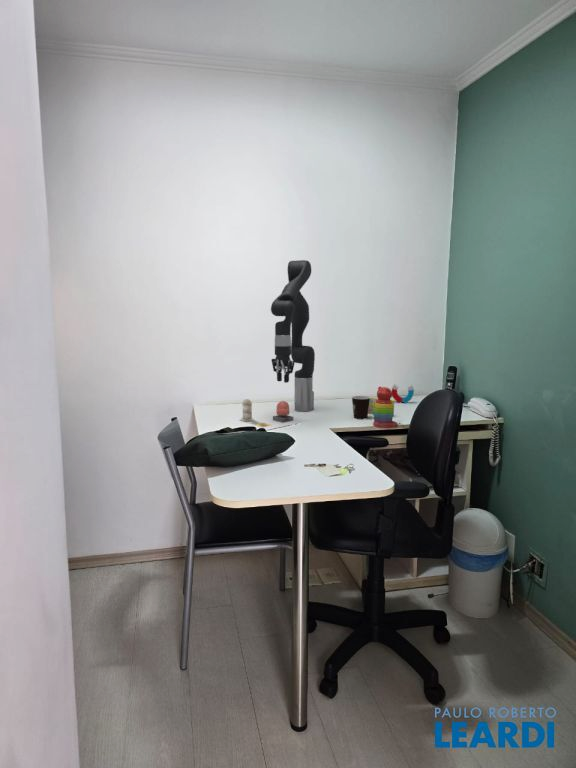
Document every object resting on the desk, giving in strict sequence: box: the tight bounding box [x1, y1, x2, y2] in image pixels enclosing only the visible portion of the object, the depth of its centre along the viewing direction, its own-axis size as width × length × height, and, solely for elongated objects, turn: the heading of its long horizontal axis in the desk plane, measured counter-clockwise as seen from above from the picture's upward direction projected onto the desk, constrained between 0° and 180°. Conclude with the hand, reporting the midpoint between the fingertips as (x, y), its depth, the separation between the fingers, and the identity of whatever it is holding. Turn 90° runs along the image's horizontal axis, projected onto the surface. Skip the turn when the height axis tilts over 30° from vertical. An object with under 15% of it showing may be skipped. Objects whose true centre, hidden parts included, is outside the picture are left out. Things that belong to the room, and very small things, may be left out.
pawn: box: [240, 398, 254, 423], centre depth 260 cm, size 6×6×10 cm
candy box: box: [368, 396, 395, 417], centre depth 277 cm, size 16×2×8 cm, turn 54°
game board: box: [238, 414, 299, 432], centre depth 258 cm, size 26×22×3 cm
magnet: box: [391, 383, 415, 404], centre depth 306 cm, size 12×3×10 cm, turn 74°
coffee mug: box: [351, 395, 370, 420], centre depth 271 cm, size 12×9×10 cm
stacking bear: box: [372, 386, 399, 429], centre depth 254 cm, size 11×10×18 cm
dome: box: [276, 400, 290, 416], centre depth 260 cm, size 6×6×6 cm
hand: (282, 381), depth 258 cm, fingers open, 4 cm apart
